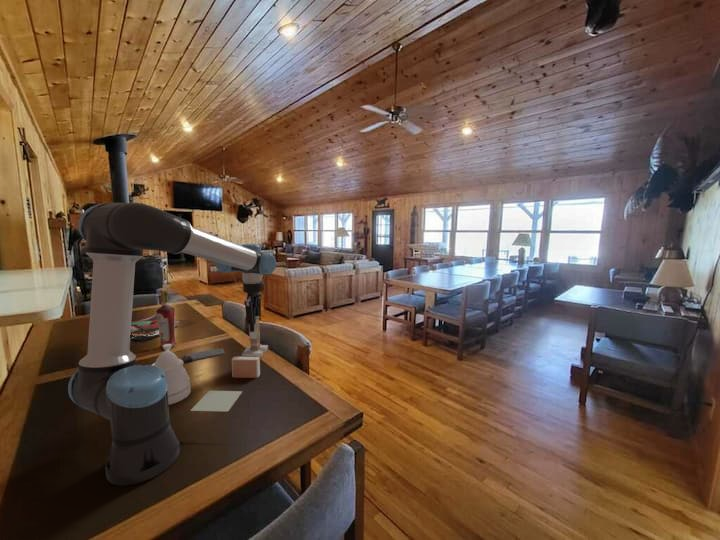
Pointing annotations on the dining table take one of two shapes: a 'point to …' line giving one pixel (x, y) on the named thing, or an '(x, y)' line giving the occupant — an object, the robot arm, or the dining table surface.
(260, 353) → the wooden handled stamp
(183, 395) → the honey pot
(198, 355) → the cleaver
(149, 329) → the multicoloured flat piece
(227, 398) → the mat
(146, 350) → the dining table surface
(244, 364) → the tile
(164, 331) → the dark red glass bottle
